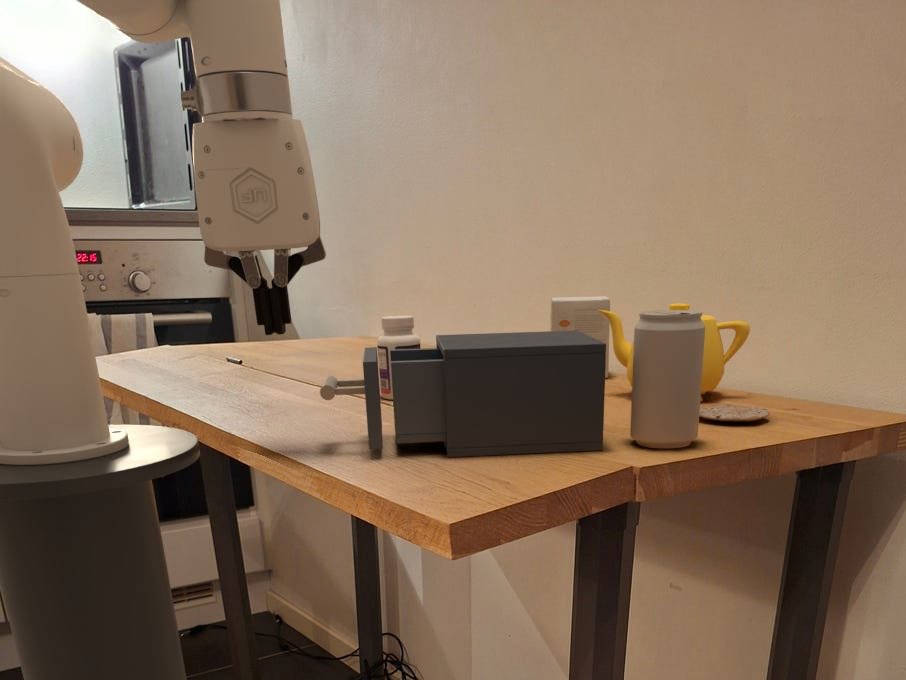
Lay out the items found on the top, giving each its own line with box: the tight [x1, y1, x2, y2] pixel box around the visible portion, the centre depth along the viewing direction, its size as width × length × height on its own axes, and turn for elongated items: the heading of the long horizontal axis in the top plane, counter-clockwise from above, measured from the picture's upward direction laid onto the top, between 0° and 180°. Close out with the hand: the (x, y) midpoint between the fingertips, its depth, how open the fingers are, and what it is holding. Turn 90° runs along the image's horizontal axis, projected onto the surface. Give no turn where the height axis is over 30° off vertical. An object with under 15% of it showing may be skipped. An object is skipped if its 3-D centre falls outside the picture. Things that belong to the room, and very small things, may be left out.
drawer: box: [319, 346, 447, 450], centre depth 87 cm, size 18×11×8 cm, turn 96°
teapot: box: [598, 302, 751, 402], centre depth 109 cm, size 18×11×11 cm, turn 74°
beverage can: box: [629, 309, 705, 449], centre depth 84 cm, size 6×6×12 cm
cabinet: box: [435, 330, 606, 458], centre depth 88 cm, size 15×13×10 cm
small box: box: [549, 295, 611, 379], centre depth 126 cm, size 8×6×10 cm
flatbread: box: [699, 403, 771, 422], centre depth 97 cm, size 8×8×1 cm
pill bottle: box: [376, 315, 422, 401], centre depth 114 cm, size 5×5×10 cm
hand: (275, 332), depth 84 cm, fingers closed
